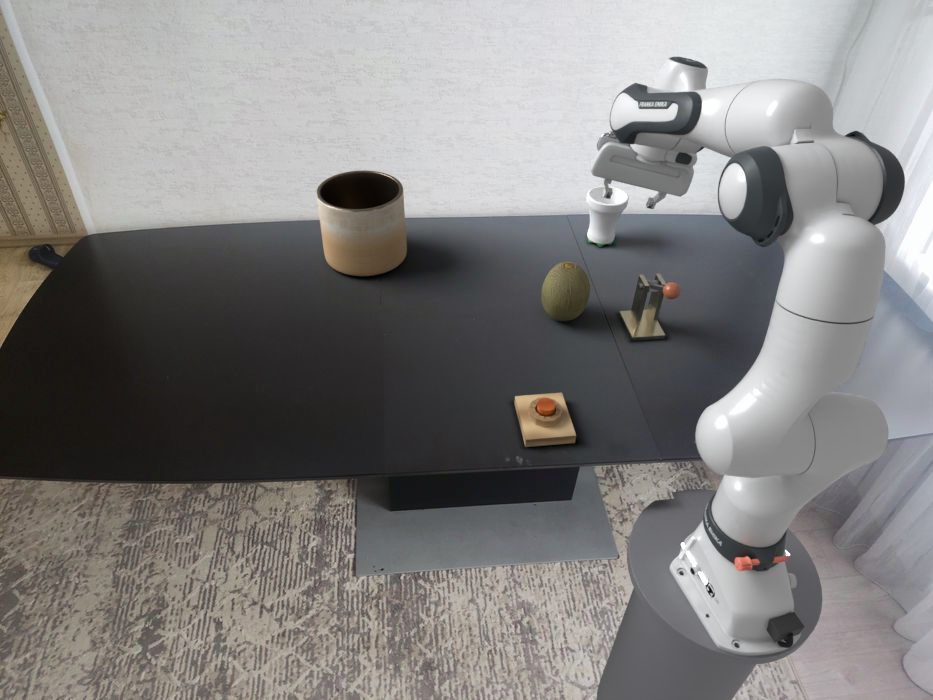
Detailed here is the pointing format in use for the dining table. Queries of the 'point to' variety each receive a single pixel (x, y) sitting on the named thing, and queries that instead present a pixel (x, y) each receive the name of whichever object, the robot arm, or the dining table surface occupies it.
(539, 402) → the button
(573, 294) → the fruit
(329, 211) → the planter
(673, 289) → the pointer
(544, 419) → the button block
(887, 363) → the dining table surface
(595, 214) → the cup
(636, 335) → the lever bracket
